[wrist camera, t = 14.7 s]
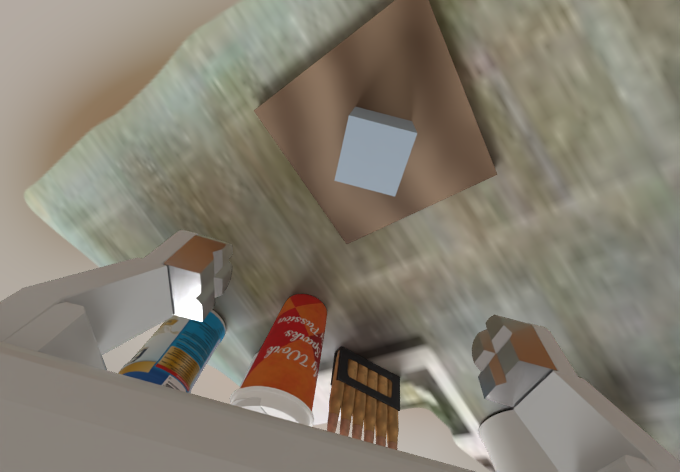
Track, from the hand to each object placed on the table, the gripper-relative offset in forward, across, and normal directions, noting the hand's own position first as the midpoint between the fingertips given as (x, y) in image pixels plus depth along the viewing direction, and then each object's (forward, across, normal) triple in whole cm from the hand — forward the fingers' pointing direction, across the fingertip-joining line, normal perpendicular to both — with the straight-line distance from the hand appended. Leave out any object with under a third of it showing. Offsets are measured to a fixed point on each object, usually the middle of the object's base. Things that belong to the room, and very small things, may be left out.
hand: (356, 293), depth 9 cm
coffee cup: (+21, +3, +24) cm, 32 cm away
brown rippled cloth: (+21, 0, 0) cm, 21 cm away
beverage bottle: (+21, +18, +32) cm, 42 cm away
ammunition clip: (+21, -8, +32) cm, 39 cm away
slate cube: (+20, 0, 0) cm, 20 cm away
